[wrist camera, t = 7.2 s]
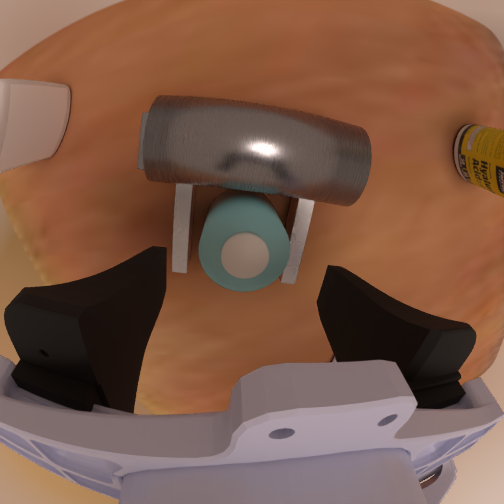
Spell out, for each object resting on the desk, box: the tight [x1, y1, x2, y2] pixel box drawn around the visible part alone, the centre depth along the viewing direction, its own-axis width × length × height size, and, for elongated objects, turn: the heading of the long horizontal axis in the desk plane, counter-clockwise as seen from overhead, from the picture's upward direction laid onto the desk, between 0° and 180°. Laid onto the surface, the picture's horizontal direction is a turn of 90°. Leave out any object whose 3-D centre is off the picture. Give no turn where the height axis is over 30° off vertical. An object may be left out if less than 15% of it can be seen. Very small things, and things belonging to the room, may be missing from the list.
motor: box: [138, 95, 371, 284], centre depth 15 cm, size 11×12×6 cm
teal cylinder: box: [199, 189, 290, 292], centre depth 16 cm, size 5×5×6 cm
